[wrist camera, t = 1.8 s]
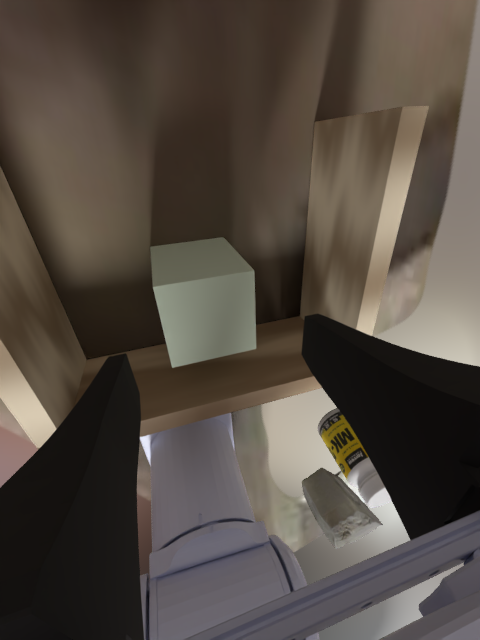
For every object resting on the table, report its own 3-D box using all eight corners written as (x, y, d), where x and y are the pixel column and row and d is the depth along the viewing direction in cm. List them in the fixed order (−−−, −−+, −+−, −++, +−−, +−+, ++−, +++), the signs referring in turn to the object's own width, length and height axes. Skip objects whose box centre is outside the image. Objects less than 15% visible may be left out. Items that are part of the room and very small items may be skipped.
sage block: (228, 300, 20) (256, 348, 15) (164, 311, 19) (172, 367, 14) (223, 236, 18) (254, 270, 13) (150, 246, 17) (152, 286, 12)
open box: (312, 325, 23) (361, 377, 18) (74, 376, 19) (47, 462, 14) (333, 120, 16) (428, 106, 11) (-46, 136, 12) (-198, 125, 7)
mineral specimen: (361, 466, 38) (393, 538, 32) (306, 487, 41) (326, 558, 35) (341, 450, 34) (374, 530, 28) (281, 475, 36) (299, 553, 30)
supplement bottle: (329, 403, 30) (385, 479, 23) (360, 406, 32) (420, 477, 25) (309, 434, 32) (355, 513, 25) (339, 435, 34) (389, 508, 27)
